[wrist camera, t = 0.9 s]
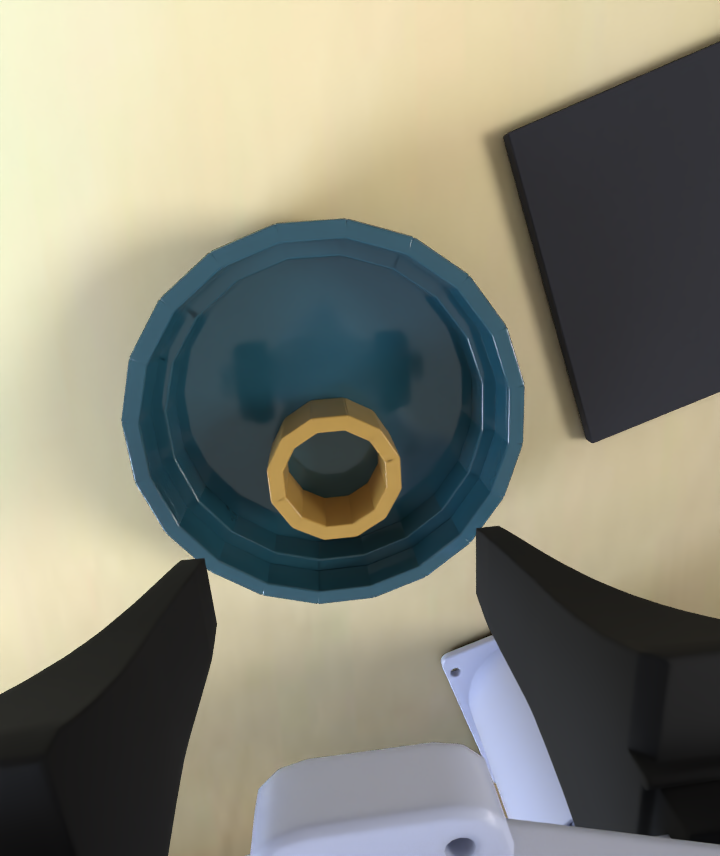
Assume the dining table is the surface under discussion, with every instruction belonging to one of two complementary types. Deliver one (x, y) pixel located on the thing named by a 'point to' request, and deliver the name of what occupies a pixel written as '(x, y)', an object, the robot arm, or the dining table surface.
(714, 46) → the coaster
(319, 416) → the napkin ring
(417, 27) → the dining table surface
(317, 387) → the bowl
